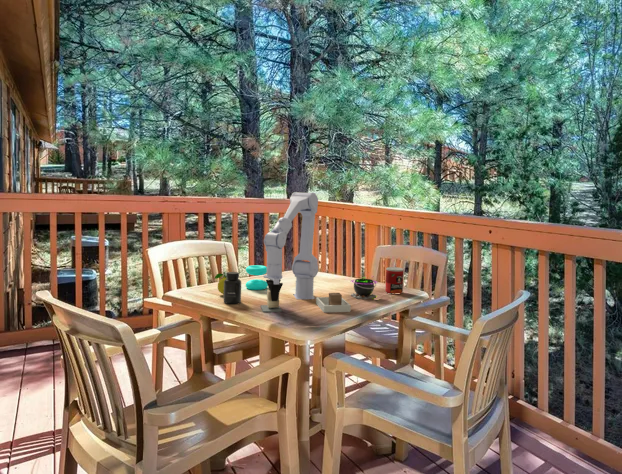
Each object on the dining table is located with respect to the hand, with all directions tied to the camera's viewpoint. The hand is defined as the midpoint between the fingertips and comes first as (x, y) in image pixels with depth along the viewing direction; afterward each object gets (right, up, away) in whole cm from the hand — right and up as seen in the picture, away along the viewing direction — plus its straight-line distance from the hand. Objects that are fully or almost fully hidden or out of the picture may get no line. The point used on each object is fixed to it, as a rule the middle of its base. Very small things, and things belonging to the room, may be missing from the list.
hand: (273, 299), depth 190 cm
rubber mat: (0, -4, 0) cm, 4 cm away
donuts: (-11, 0, +38) cm, 39 cm away
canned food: (+51, -2, +35) cm, 62 cm away
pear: (-23, -1, +22) cm, 32 cm away
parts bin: (+22, -4, +3) cm, 23 cm away
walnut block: (+23, -4, 0) cm, 23 cm away
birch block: (0, -3, 0) cm, 3 cm away
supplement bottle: (-17, -3, +9) cm, 20 cm away
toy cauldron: (+36, -2, +24) cm, 43 cm away
